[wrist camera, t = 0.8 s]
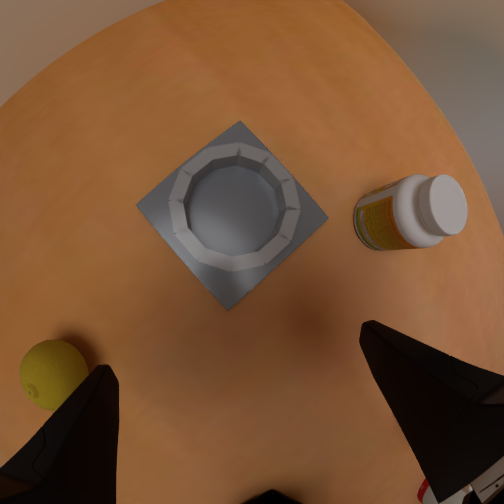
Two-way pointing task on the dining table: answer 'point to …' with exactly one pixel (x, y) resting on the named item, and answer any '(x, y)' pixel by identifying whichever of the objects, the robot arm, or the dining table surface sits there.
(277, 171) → the holder
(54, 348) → the lemon
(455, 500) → the kitchen timer
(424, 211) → the supplement bottle
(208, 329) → the dining table surface
